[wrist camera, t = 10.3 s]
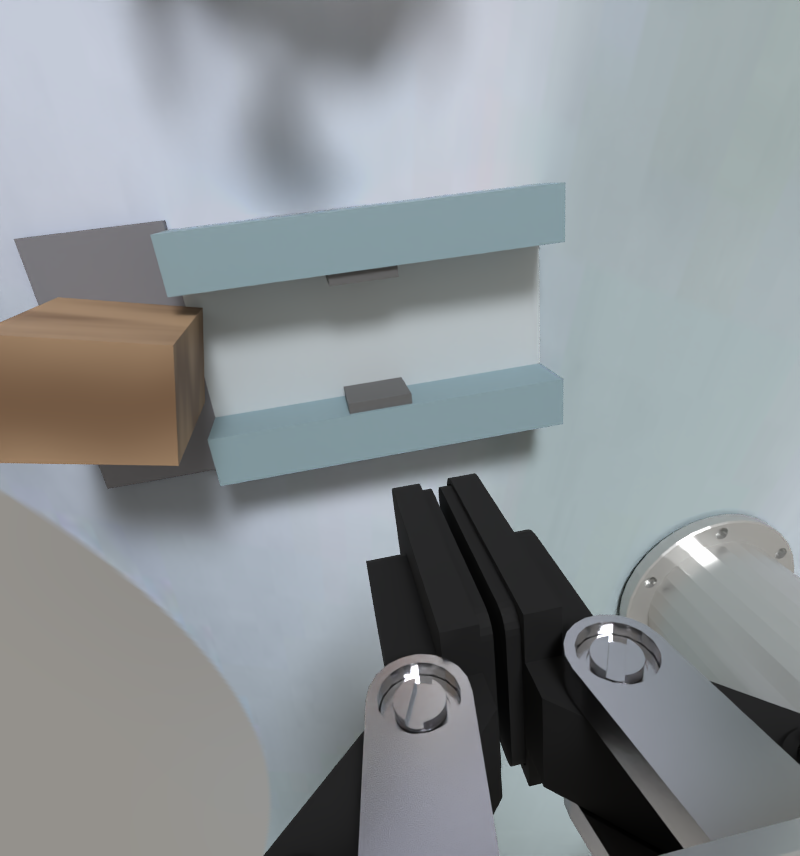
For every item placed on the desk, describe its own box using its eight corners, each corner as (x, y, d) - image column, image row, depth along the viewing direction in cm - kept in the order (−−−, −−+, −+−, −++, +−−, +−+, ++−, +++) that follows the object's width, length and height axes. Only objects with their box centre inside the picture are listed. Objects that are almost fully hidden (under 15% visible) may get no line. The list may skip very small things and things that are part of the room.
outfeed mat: (229, 462, 29) (228, 467, 28) (110, 483, 28) (107, 488, 28) (164, 220, 24) (162, 220, 24) (19, 238, 23) (13, 239, 23)
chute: (536, 401, 31) (562, 423, 28) (227, 455, 29) (220, 486, 26) (534, 184, 26) (565, 182, 23) (167, 230, 24) (150, 234, 21)
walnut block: (204, 402, 27) (178, 465, 21) (69, 396, 26) (-3, 462, 19) (202, 307, 25) (173, 345, 19) (58, 297, 24) (-26, 333, 18)
